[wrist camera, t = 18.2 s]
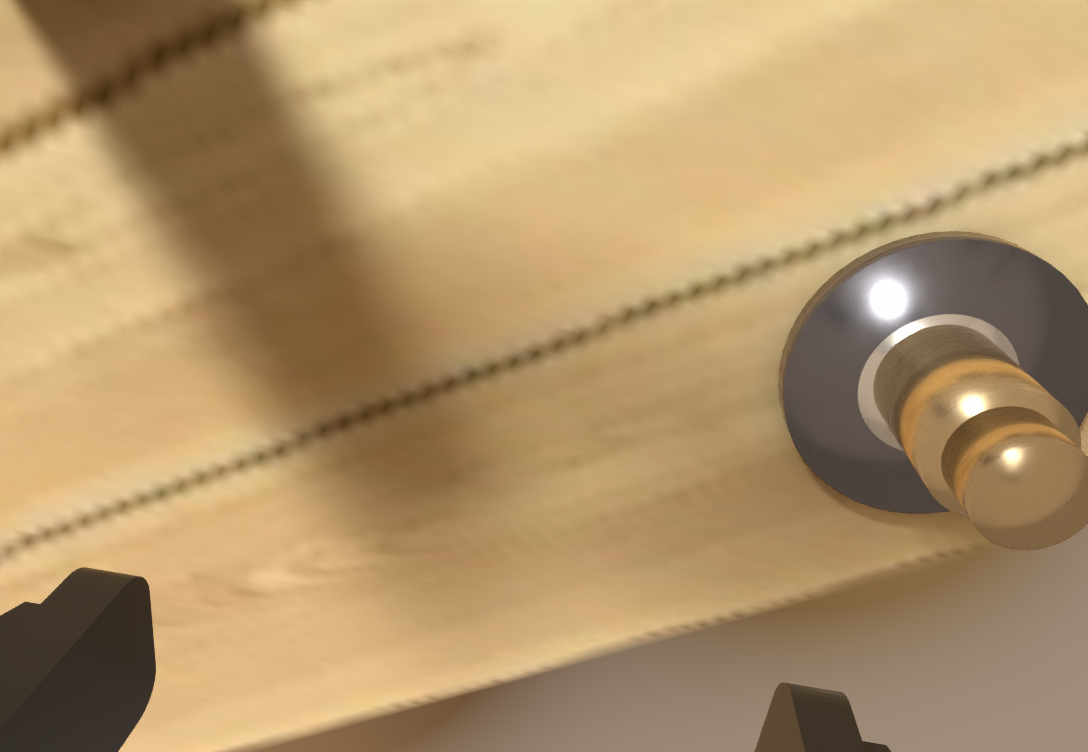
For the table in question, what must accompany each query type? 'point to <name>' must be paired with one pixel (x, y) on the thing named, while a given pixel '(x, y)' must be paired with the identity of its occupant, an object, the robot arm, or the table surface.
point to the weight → (985, 436)
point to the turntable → (899, 310)
